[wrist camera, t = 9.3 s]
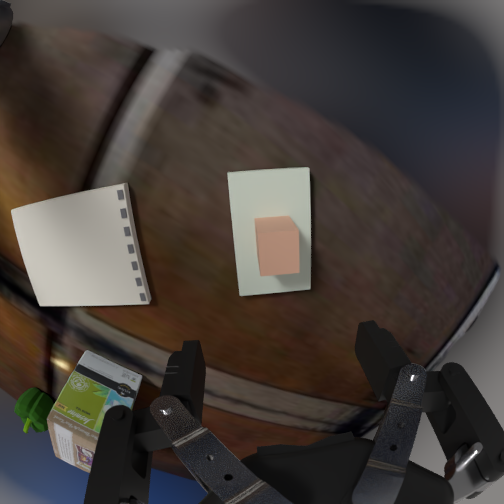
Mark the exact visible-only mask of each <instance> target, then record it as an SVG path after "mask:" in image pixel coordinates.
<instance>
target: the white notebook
mask: <svg viewBox="0 0 504 504" xmlns="http://www.w3.org/2000/svg"><path fill="white" fill-rule="evenodd" d="M11 213H12V218H13V222H14V227H15V231H16V235H17V239H18V242H19V246H20V250H21V253H22V257H23V260H24V263H25V266H26V269H27V272H28V275H29V278H30V281H31V284H32V287H33V290H34V292H35V295H36V297H37V300H38V303H39V305H40V306H105V305H137V304H149V303H150V301H151V295H150V292H149V288H148V284H147V280H146V275H145V271H144V267H143V263H142V258H141V254H140V249H139V244H138V239H137V234H136V229H135V224H134V219H133V213H132V207H131V201H130V195H129V188H128V183H123V184H118V185H112V186H107V187H102V188H97V189H92V190H87V191H83V192H78V193H74V194H69V195H65V196H60V197H56V198H52V199H48V200H44V201H40V202H37V203H33V204H29V205H25V206H22V207H18V208H15V209H13V210H11Z"/></svg>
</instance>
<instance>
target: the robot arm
mask: <svg viewBox="0 0 504 504" xmlns="http://www.w3.org/2000/svg"><path fill="white" fill-rule="evenodd" d="M10 5H11V3H8V2H6V1H4V0H0V46H1V44H2V43H3V41H4V39H5V38H6V36H7V34H8V32H9V29H10V27H11V24H12V20H13V11H12V10H11V8H10ZM355 353H356V356H357V358H358V360H359V362H360V364H361V366H362V368H363V370H364V372H365V374H366V377H367V379H368V381H369V383H370V385H371V387H372V389H373V391H374V393H375V395H376V397H377V399H378V401H382V400H387V402H388V404H387V406H386V409H385V412H384V414H383V417H382V420H381V422H380V425H379V427H378V430H377V432H376V435H375V437H374V439H373V441H372V440H369V439H366V438H358V437H353V434H352V432H348V433H344V434H339V435H334V436H330V437H327V438H325V439H323V440H320V441H318V442H316V443H313V444H311V445H308V446H297V445H282V444H280V445H271V446H261V447H257V453H255V454H252V455H250V456H247V457H245V458H243V459H242V460H240V461H239V460H238V459H237V458H236V457H235V456H234V455H233V454H232V453H231V452H230V451H229V450H228V449H227V448H226V447H225V446H224V445H223V444H222V443H221V442H220V441H219V440H218V439H217V438H216V437H215V436H214V435H213V434H212V432H211V431H210V430H208V429H207V428H206V427H205V428H203V427H202V426H201V422H202V410H203V398H204V387H205V376H206V367H205V361H204V357H203V353H202V349H201V344H200V341H199V340H192V341H184V342H183V347H182V351H174V353H173V354H172V355H171V356H170V357H169V360H168V364H167V368H166V372H165V376H164V380H163V384H162V388H161V392H160V396H159V397H158V398H157V399H155V400H154V401H153V402H152V404H151V406H150V407H148V408H144V409H139V410H135V411H132V410H131V409H130V408H129V407H127V406H125V405H115V406H113V407H111V408H109V409H108V410H107V411H106V413H105V415H104V419H103V422H102V426H101V429H100V433H99V437H98V441H97V445H96V449H95V453H94V457H93V461H92V465H91V470H90V475H89V479H88V484H87V489H86V494H85V499H84V504H148V498H149V484H150V474H151V464H152V454H153V451H154V450H159V449H163V448H168V447H171V448H172V449H173V450H174V452H175V453H176V454H177V456H178V457H179V458H180V460H181V461H182V462H183V463H184V465H185V466H186V467H187V468H188V470H189V471H190V472H191V473H192V475H193V476H194V477H195V479H196V480H197V481H198V482H199V483H200V484H201V486H202V487H203V488H204V489H205V490H206V491H207V492H208V494H207V496H206V497H205V498H204V499H203V500H202V501H201V502H200V503H199V504H455V503H457V502H459V501H461V500H462V499H464V498H467V499H471V498H474V497H476V496H477V495H479V494H480V493H481V492H483V491H484V490H485V489H487V488H488V487H489V486H491V485H492V484H493V483H495V482H496V481H497V480H498V479H499V478H501V477H502V476H503V475H504V431H503V429H502V427H501V425H500V424H499V422H498V420H497V419H496V417H495V415H494V414H493V412H492V410H491V409H490V407H489V405H488V404H487V402H486V401H485V399H484V398H483V396H482V394H481V393H480V391H479V390H478V388H477V387H476V385H475V384H474V382H473V381H472V379H471V378H470V376H469V375H468V374H467V372H466V371H465V369H464V368H463V367H462V366H461V365H459V364H457V363H454V362H450V363H446V364H445V365H443V367H442V369H441V371H426V370H425V369H424V368H423V367H422V366H420V365H418V364H412V363H411V361H410V360H409V358H408V357H407V355H406V354H405V352H404V351H403V349H402V348H401V347H400V346H399V344H398V342H397V341H396V339H395V338H394V336H393V335H392V334H391V333H390V332H389V331H387V330H386V329H384V328H381V329H380V328H379V327H378V325H377V324H376V322H375V321H374V320H372V321H366V322H361V323H359V325H358V331H357V337H356V343H355ZM422 412H425V413H426V415H427V417H428V419H429V421H430V423H431V425H432V427H433V429H434V432H435V434H436V436H437V438H438V440H439V442H440V445H441V447H442V449H443V452H444V454H445V456H446V459H447V463H446V464H445V467H444V472H445V475H444V477H442V476H440V475H438V474H436V473H434V472H432V471H430V470H428V469H426V468H424V467H422V466H420V465H418V464H416V463H414V462H412V461H410V460H409V457H410V454H411V451H412V448H413V444H414V441H415V438H416V434H417V430H418V426H419V423H420V418H421V415H422Z"/></svg>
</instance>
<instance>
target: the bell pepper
mask: <svg viewBox="0 0 504 504" xmlns="http://www.w3.org/2000/svg"><path fill="white" fill-rule="evenodd" d="M53 406H54V403H53V400H52V399H51V398H50V397H49V396H48V395H47V394H45V393H42V392H41V391H40V390H39V389H37V388H36V387H34V388H29V389H28V390H27V391H25V392H24V393H23V394H22V395H21V396H20V398H19V399H18V401H17V403H16V405H15V413H16V414H17V415H18V416H20V417H21V420H22V421H23V423H24V424H25V426H24V429H23V431H24V432H25V433H28V429H29V426H30V427H32V428H33V429H34V430H35V431H36V432H42V431H46V430H48V423H47V418H48V415H49V414H50V411H51V409H52V407H53Z"/></svg>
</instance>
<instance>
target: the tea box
mask: <svg viewBox="0 0 504 504" xmlns="http://www.w3.org/2000/svg"><path fill="white" fill-rule="evenodd" d="M141 380H142V375H140V374H138V373H135V372H133V371H131V370H129V369H127V368H125V367H122V366H120V365H118V364H116V363H114V362H111V361H109V360H107V359H105V358H103V357H101V356H99V355H97V354H95V353H93V352H91V351H89V350H87V351H85V353H84V354H83V356H82V357H81V359H80V361H79V362H78V364H77V366H76V368H75V369H74V371H73V372H72V374H71V376H70V377H69V379H68V381H67V383H66V385H65V386H64V388H63V389H62V391H61V393H60V395H59V397H58V399H57V401H56V402H55V404H54V406H53V407H52V409H51V411H50V414H49V415H48V418H47V423H48V429H49V433H50V436H51V440H52V445H53V448H54V452H55V456H56V457H58V458H60V459H62V460H64V461H65V462H68V463H69V464H71V465H74V466H76V467H78V468H80V469H82V470H84V471H86V472H89V473H90V470H91V465H92V461H93V457H94V453H95V449H96V445H97V441H98V437H99V433H100V429H101V426H102V422H103V419H104V415H105V413H106V411H107V410H108V409H109V408H111V407H113V406H115V405H125V406H127V407H129V408H130V409H131V410H132V409H133V406H134V403H135V399H136V396H137V393H138V390H139V386H140V383H141Z"/></svg>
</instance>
